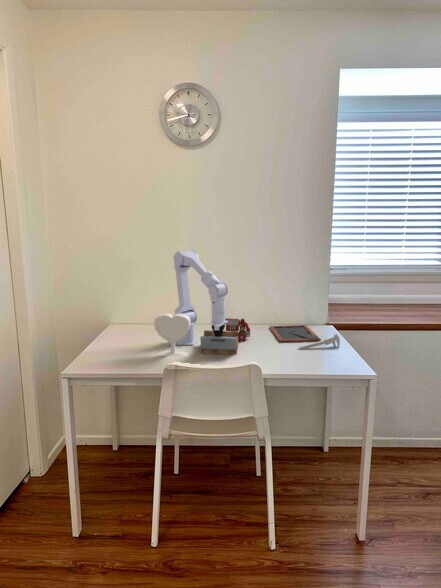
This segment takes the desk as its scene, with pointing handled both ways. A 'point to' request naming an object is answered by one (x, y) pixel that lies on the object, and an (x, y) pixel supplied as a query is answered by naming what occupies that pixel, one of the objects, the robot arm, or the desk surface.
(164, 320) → the heart sculpture
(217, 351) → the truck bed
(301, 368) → the desk surface
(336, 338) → the caliper
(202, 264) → the robot arm
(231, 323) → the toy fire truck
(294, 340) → the picture frame
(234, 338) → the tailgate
